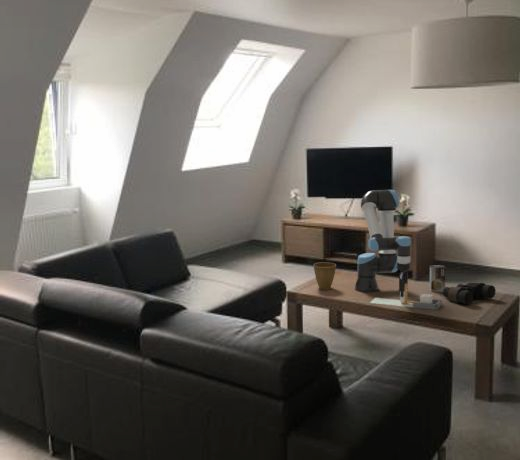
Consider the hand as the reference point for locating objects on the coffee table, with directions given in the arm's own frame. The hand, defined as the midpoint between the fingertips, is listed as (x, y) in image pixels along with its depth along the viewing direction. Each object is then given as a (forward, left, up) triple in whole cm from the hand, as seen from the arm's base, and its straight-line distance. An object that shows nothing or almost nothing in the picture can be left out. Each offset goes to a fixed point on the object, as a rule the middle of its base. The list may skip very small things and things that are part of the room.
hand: (403, 300), depth 369 cm
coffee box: (+12, +39, -2) cm, 41 cm away
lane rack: (+1, 0, -2) cm, 2 cm away
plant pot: (-57, +18, -2) cm, 60 cm away
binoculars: (+32, +24, -3) cm, 41 cm away
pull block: (+8, 0, -1) cm, 8 cm away
